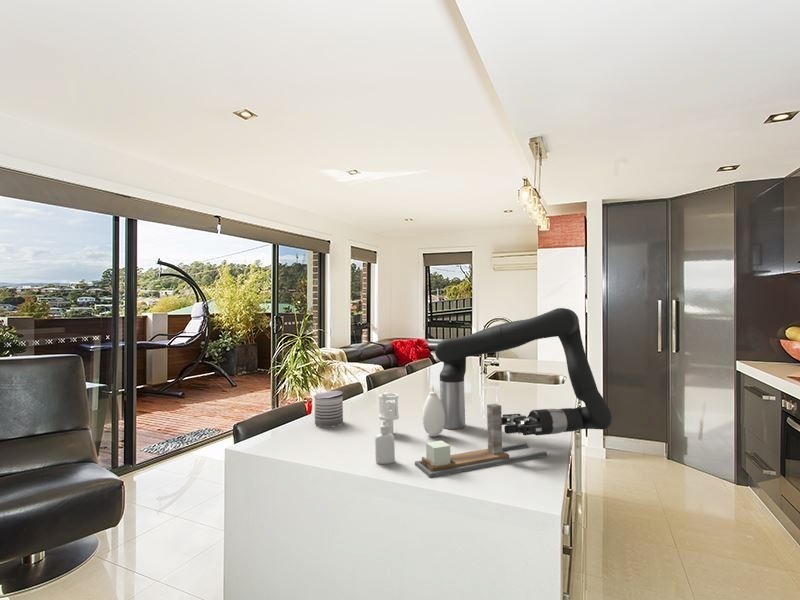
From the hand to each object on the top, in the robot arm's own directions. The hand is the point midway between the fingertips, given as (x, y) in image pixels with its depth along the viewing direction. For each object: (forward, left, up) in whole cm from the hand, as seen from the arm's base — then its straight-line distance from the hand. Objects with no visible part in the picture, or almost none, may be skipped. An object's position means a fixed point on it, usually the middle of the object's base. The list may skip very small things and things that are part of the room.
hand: (498, 425), depth 128 cm
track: (0, -5, -10) cm, 11 cm away
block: (0, -20, -8) cm, 22 cm away
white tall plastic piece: (-37, -21, -10) cm, 44 cm away
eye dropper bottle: (-11, -32, -10) cm, 36 cm away
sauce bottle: (-27, -8, -10) cm, 30 cm away
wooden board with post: (0, -11, -10) cm, 15 cm away
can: (-60, -38, -10) cm, 72 cm away
